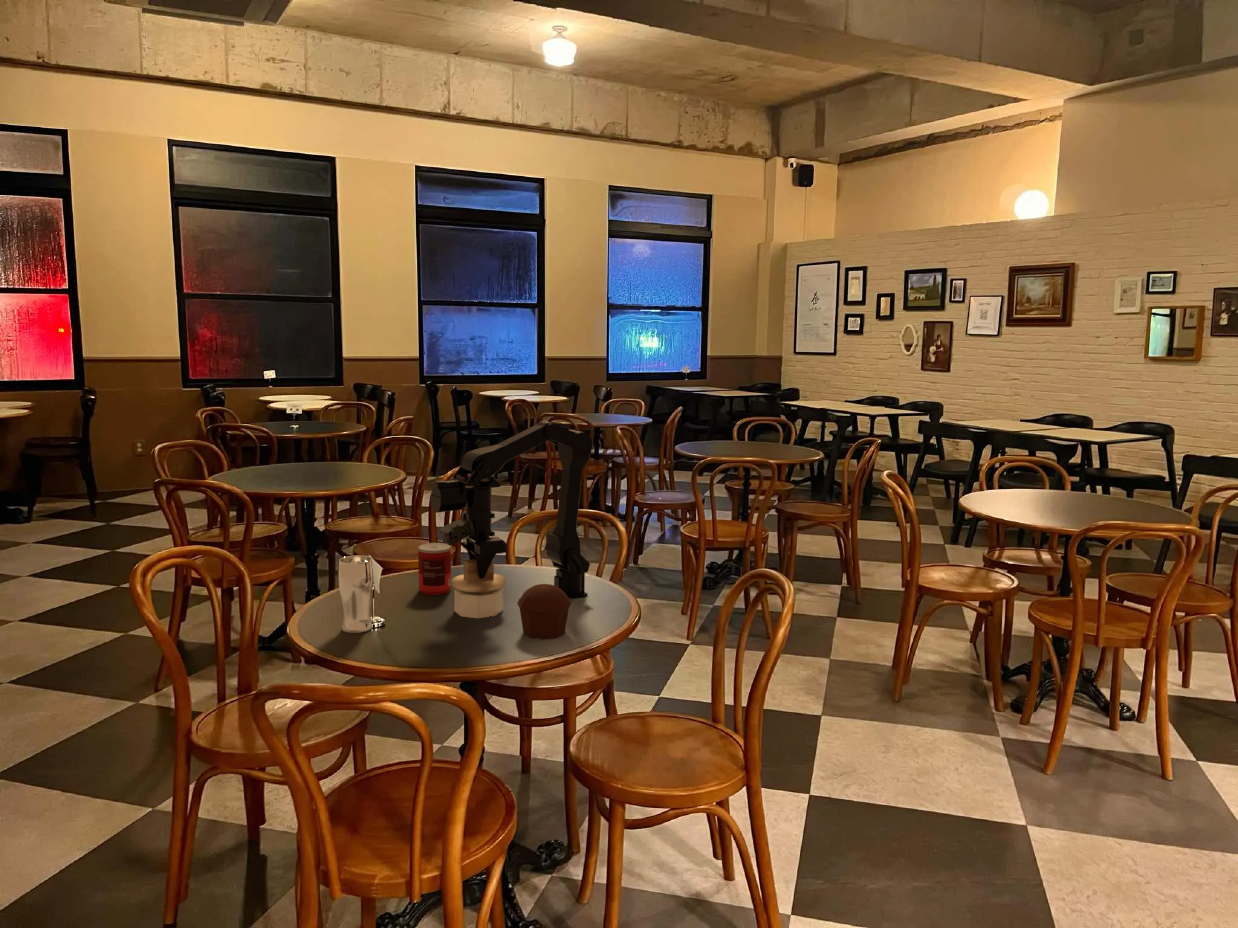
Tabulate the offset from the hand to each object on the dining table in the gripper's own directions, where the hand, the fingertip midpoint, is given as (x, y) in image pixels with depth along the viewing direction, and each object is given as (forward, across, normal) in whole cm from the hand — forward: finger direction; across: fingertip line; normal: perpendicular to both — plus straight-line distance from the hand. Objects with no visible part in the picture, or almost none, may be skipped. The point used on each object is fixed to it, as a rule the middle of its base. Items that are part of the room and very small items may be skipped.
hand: (478, 576), depth 197 cm
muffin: (+8, +20, +7) cm, 22 cm away
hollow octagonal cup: (+8, 0, 0) cm, 8 cm away
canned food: (+8, -19, -4) cm, 21 cm away
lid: (+2, 0, 0) cm, 2 cm away
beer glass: (+8, 0, -27) cm, 28 cm away
